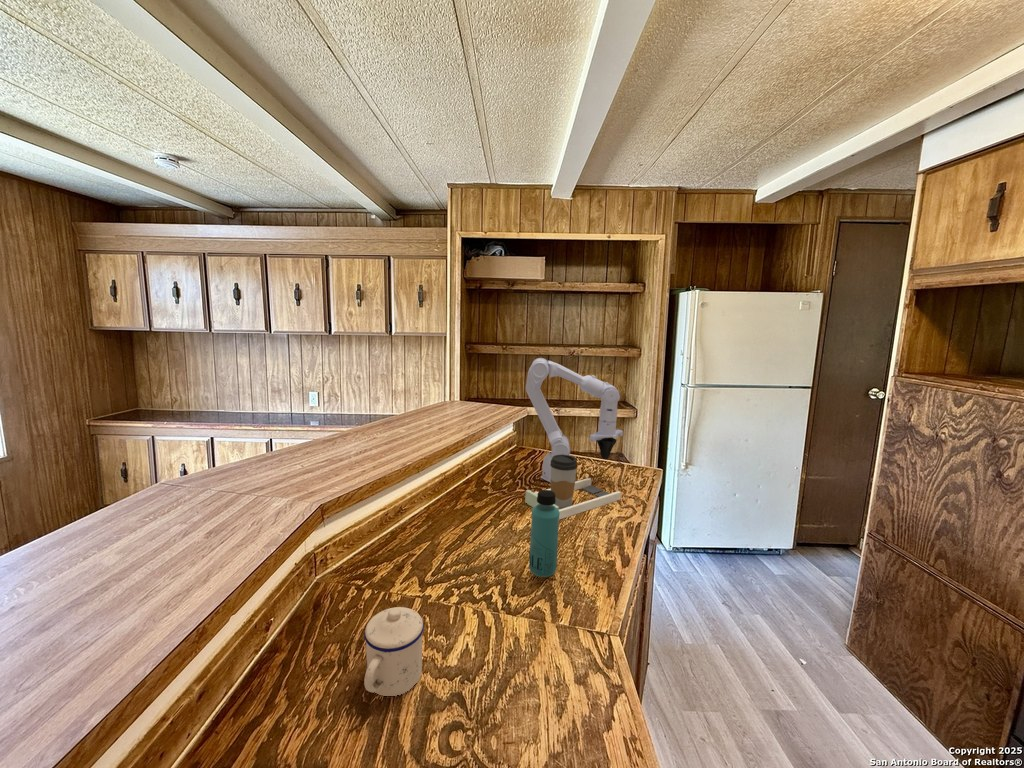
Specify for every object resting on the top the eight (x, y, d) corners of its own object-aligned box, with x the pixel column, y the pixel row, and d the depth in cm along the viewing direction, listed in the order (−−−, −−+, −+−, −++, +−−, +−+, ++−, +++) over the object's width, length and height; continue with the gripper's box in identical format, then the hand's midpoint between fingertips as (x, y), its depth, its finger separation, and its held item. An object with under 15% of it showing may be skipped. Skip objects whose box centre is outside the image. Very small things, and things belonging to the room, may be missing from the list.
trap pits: (581, 489, 149) (581, 488, 149) (592, 486, 152) (592, 485, 152) (606, 501, 140) (606, 500, 140) (616, 497, 143) (616, 496, 143)
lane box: (525, 502, 137) (525, 495, 136) (588, 484, 153) (589, 477, 153) (555, 520, 126) (555, 512, 125) (620, 499, 142) (620, 492, 142)
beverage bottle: (559, 570, 102) (564, 489, 98) (552, 587, 96) (557, 500, 92) (532, 564, 104) (536, 484, 101) (523, 580, 98) (528, 495, 94)
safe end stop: (525, 502, 137) (525, 490, 136) (528, 501, 138) (528, 489, 137) (555, 521, 126) (555, 507, 125) (558, 520, 126) (559, 506, 126)
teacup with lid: (385, 648, 77) (385, 587, 75) (433, 661, 74) (433, 599, 72) (340, 706, 65) (338, 636, 63) (394, 724, 63) (394, 652, 61)
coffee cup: (573, 499, 140) (576, 454, 138) (576, 511, 132) (579, 463, 130) (547, 498, 141) (549, 453, 138) (548, 510, 132) (551, 462, 130)
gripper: (601, 425, 143) (598, 465, 145) (631, 420, 151) (627, 458, 154) (586, 420, 149) (583, 459, 151) (615, 416, 157) (612, 452, 159)
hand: (604, 458), depth 153 cm, fingers closed
